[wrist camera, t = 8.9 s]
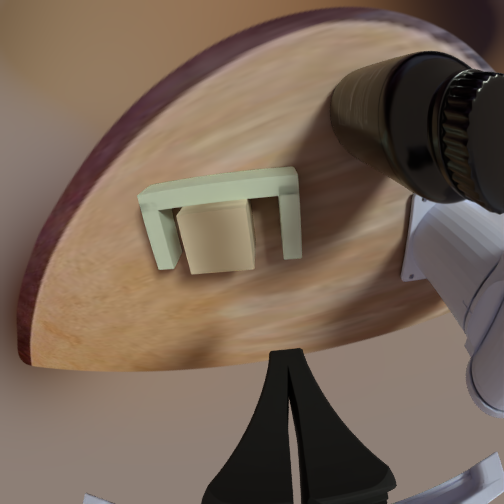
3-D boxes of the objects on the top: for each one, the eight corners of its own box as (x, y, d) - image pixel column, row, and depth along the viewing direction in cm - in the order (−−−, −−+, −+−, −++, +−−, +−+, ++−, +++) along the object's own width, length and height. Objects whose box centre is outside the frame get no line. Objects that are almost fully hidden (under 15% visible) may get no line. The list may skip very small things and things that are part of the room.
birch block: (248, 187, 18) (245, 207, 15) (255, 239, 20) (254, 269, 17) (192, 194, 19) (176, 215, 15) (203, 244, 21) (191, 274, 17)
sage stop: (293, 166, 17) (298, 174, 15) (297, 241, 20) (302, 258, 18) (150, 184, 18) (137, 195, 16) (168, 253, 21) (158, 269, 19)
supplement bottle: (368, 182, 18) (473, 280, 7) (306, 105, 15) (388, 104, 5) (432, 128, 15) (561, 177, 5) (378, 50, 13) (506, 16, 2)
